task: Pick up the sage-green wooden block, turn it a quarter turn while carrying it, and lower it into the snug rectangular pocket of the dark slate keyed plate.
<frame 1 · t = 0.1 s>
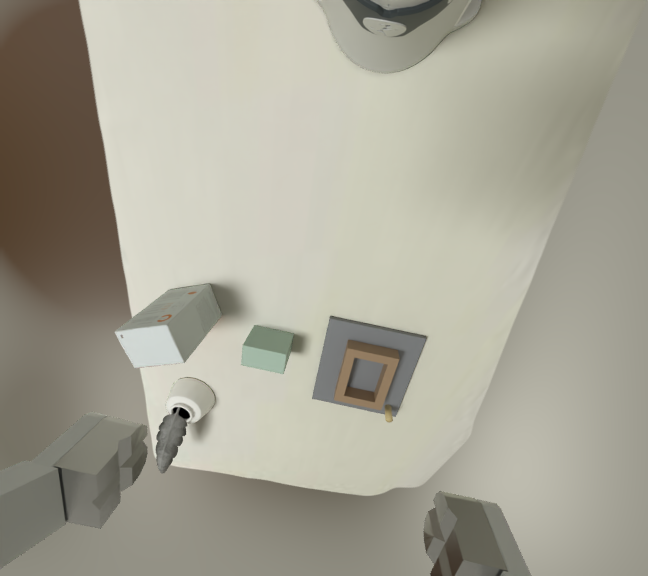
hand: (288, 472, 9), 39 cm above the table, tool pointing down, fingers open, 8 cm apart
small box: (196, 302, 53), on the table
sage block: (273, 338, 55), on the table
inkwell: (192, 408, 65), on the table
keyed plate: (364, 367, 55), on the table
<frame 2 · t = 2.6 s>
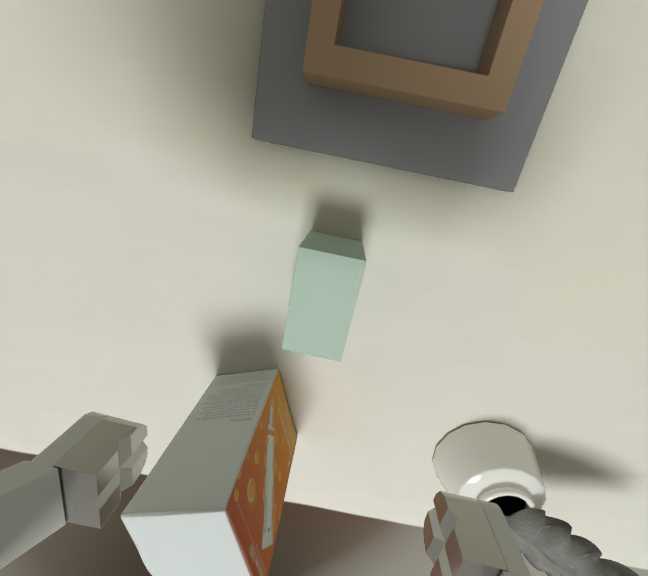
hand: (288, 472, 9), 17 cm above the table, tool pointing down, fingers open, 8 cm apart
small box: (258, 404, 30), on the table
sage block: (327, 278, 25), on the table
inkwell: (523, 469, 30), on the table
keyed plate: (414, 26, 19), on the table
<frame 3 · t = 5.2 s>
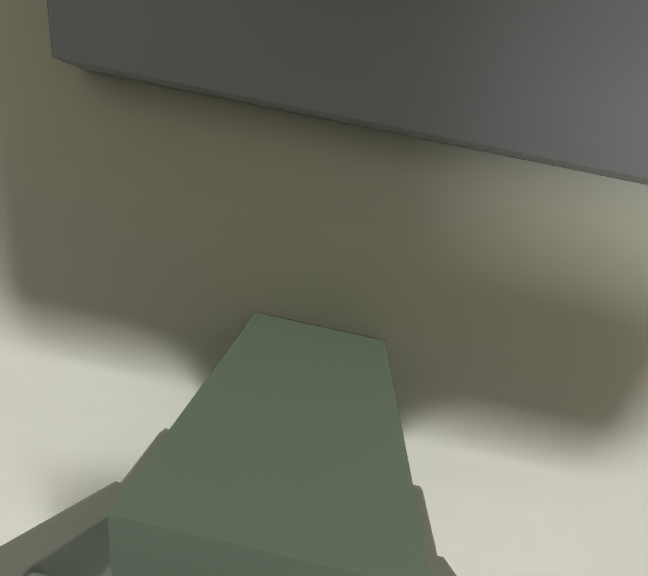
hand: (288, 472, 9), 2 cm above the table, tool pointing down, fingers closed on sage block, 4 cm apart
sage block: (300, 416, 11), on the table, touching gripper
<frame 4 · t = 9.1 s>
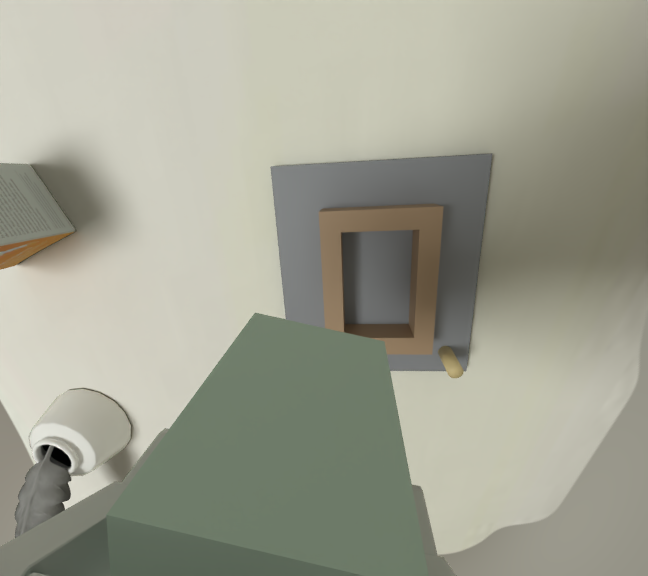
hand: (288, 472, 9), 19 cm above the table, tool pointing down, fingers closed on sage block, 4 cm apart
small box: (26, 217, 28), on the table
sage block: (299, 416, 11), point 17 cm above the table, touching gripper
inkwell: (103, 449, 37), on the table
keyed plate: (376, 274, 26), on the table
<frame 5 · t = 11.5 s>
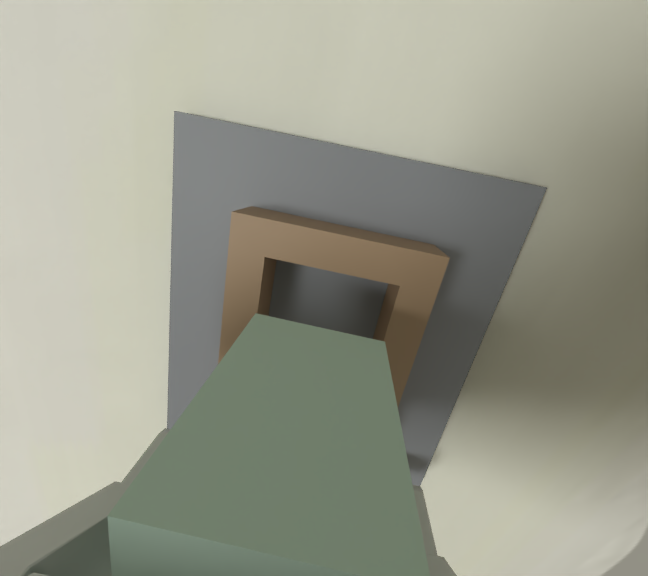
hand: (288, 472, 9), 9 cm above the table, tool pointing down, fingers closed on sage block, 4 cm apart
sage block: (300, 417, 11), point 7 cm above the table, touching gripper
keyed plate: (320, 327, 17), on the table
when the fingers open (4 cm above the table, at t = 13.5 s): sage block drops 1 cm, resting on keyed plate.
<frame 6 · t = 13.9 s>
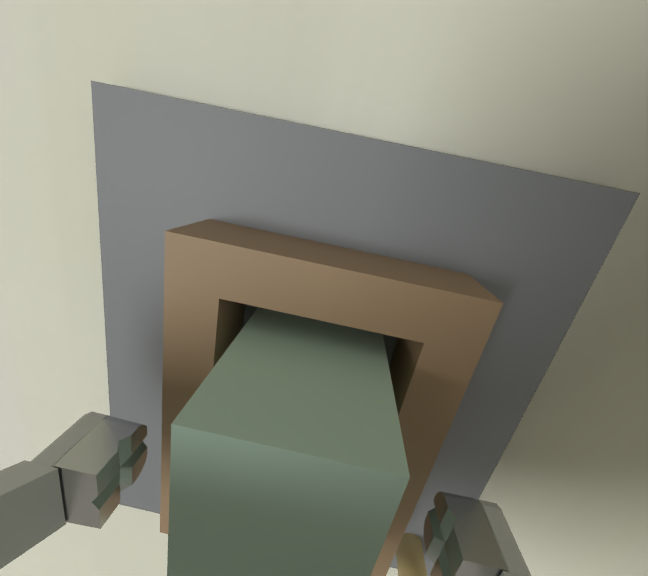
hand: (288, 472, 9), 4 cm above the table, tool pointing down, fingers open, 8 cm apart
sage block: (306, 389, 12), point 1 cm above the table, touching keyed plate
keyed plate: (309, 377, 13), on the table
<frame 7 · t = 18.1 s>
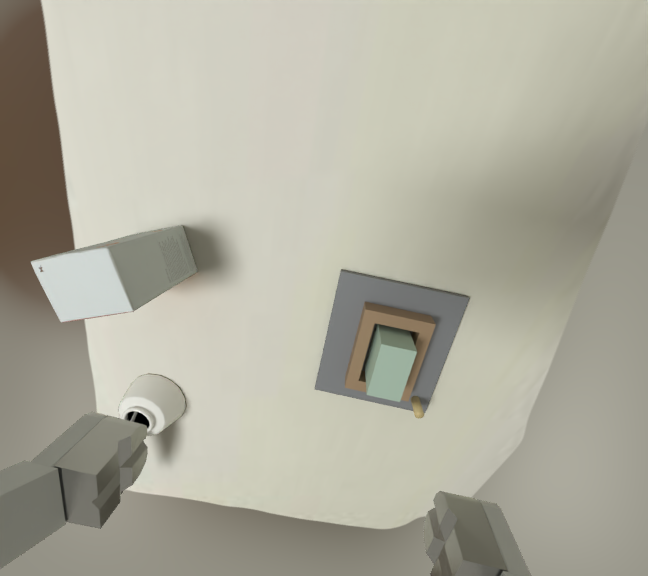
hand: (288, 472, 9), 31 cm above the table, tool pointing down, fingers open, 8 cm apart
small box: (164, 253, 40), on the table
sage block: (385, 347, 41), point 1 cm above the table, touching keyed plate
inkwell: (157, 418, 50), on the table
keyed plate: (385, 344, 42), on the table
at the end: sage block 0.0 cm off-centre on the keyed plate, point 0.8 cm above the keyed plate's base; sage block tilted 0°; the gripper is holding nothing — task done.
